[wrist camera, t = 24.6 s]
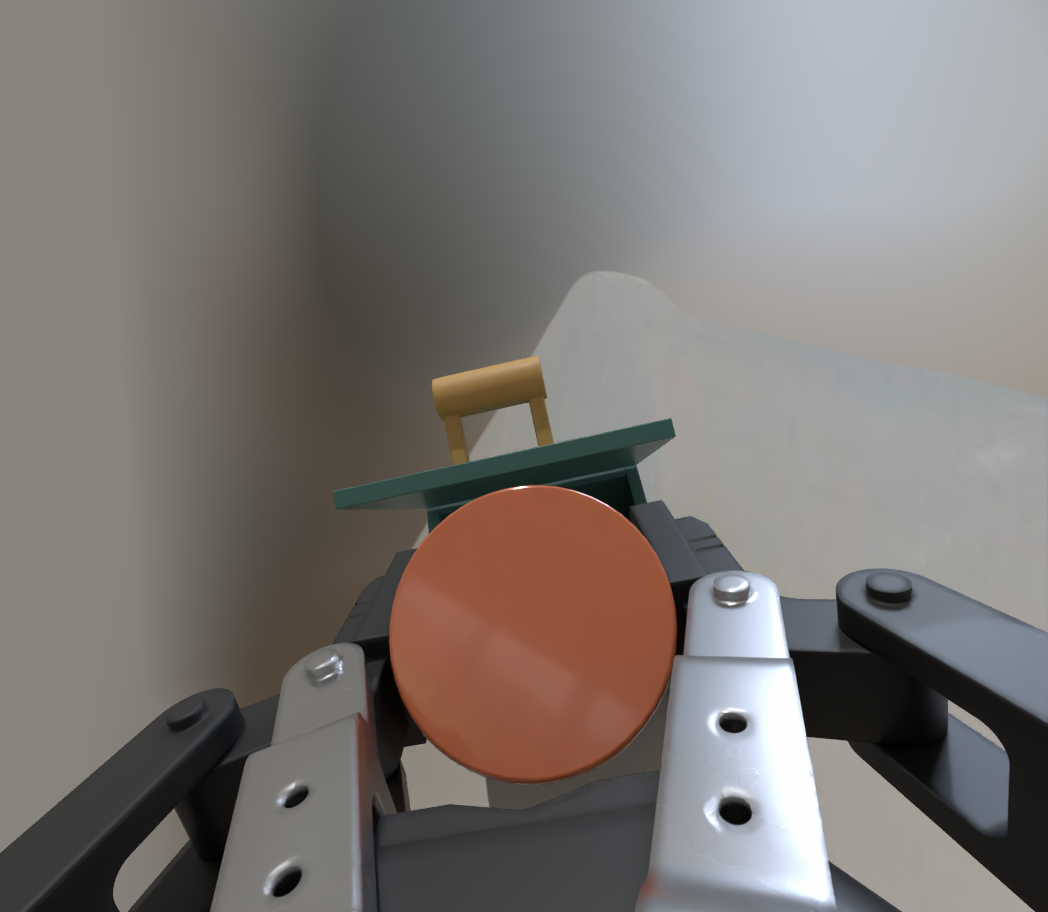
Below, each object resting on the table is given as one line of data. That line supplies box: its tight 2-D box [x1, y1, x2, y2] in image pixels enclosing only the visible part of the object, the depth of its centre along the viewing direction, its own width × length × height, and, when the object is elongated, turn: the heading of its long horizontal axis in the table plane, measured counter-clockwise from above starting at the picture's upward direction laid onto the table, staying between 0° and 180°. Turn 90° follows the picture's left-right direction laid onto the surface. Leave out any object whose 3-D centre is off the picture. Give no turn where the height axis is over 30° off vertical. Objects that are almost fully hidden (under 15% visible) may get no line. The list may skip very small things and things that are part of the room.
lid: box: [333, 356, 675, 509], centre depth 31 cm, size 14×15×5 cm
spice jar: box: [389, 485, 678, 785], centre depth 12 cm, size 5×5×8 cm
